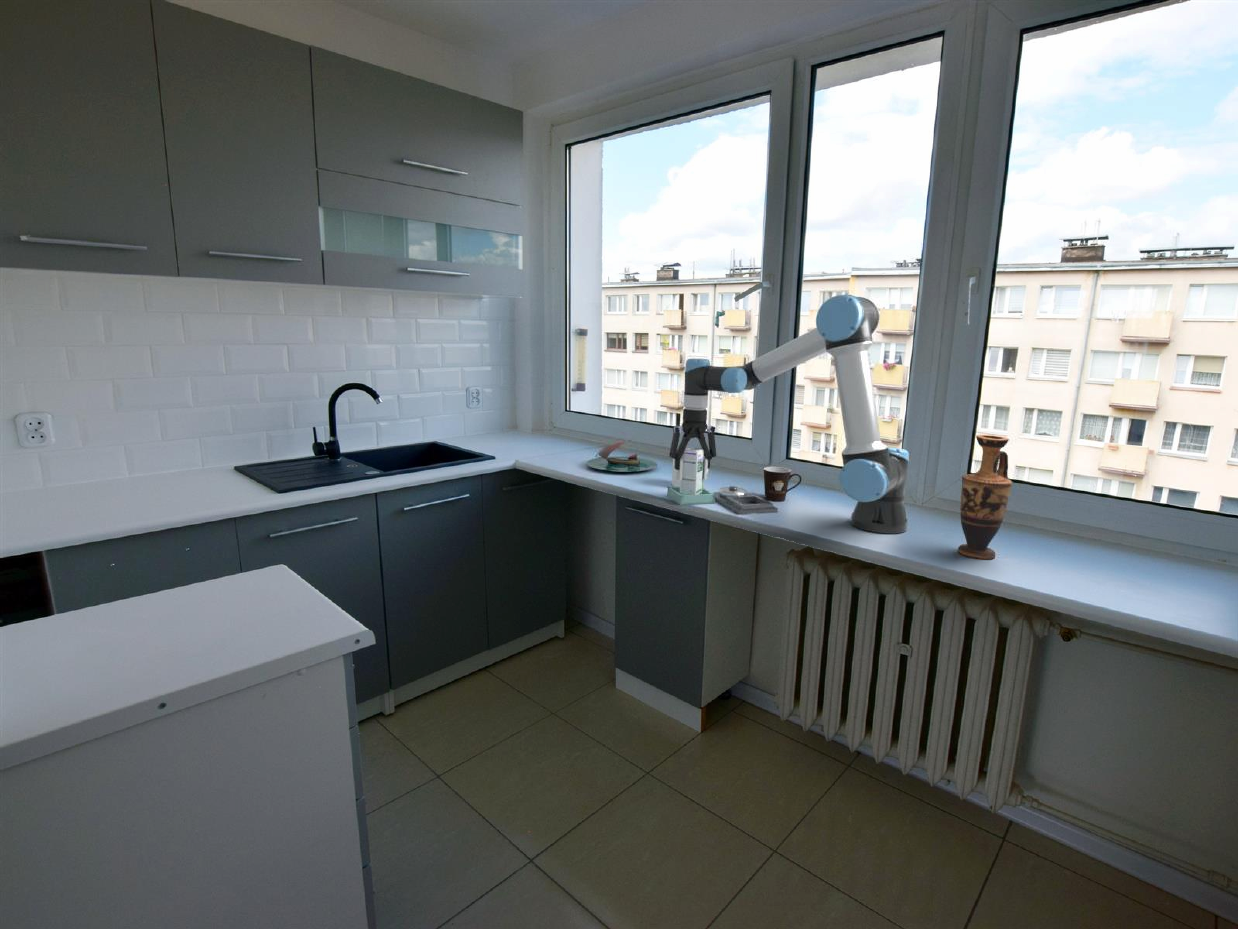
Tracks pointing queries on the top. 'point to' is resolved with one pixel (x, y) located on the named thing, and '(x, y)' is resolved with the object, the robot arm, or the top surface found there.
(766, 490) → the coffee mug
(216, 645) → the top surface
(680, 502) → the tray
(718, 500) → the pulley plate
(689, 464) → the syrup box
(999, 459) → the vase
